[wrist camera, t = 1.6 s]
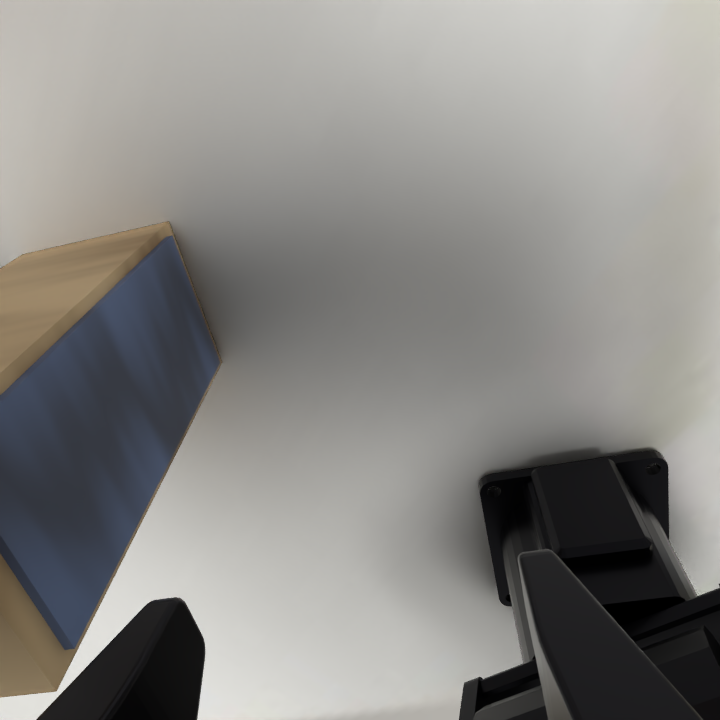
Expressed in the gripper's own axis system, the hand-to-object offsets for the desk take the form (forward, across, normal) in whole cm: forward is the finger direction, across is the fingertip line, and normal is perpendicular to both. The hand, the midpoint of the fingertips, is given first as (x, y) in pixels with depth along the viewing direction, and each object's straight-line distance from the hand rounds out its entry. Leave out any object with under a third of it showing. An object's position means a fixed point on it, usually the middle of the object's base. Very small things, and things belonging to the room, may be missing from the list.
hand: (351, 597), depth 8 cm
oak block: (+13, +8, 0) cm, 16 cm away
